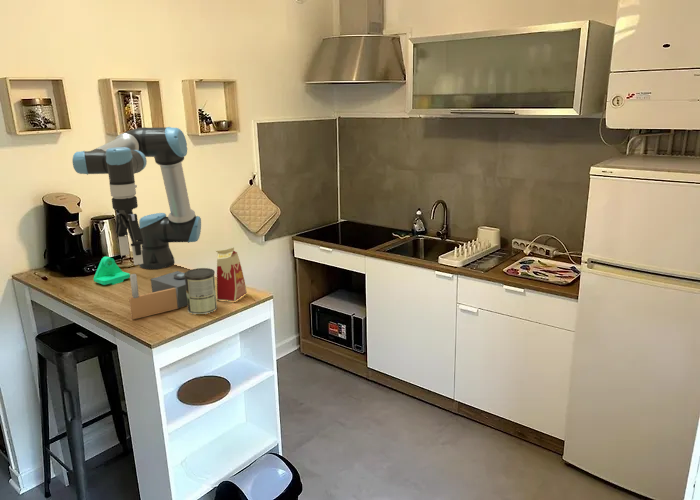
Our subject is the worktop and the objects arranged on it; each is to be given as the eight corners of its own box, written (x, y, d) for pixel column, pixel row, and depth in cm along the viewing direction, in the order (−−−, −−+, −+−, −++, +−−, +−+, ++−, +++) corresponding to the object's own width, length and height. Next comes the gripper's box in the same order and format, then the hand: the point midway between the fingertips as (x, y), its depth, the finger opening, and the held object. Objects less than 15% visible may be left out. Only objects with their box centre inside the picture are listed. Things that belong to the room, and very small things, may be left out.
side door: (131, 318, 184) (126, 275, 179) (178, 306, 194) (174, 265, 189) (133, 320, 182) (127, 276, 178) (180, 308, 192) (176, 267, 188)
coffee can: (181, 310, 191) (178, 273, 188) (205, 302, 199) (202, 266, 195) (199, 317, 185) (195, 278, 181) (223, 308, 193) (220, 271, 189)
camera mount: (104, 287, 216) (101, 263, 213) (94, 283, 220) (91, 259, 218) (131, 279, 225) (128, 256, 222) (121, 276, 230) (118, 253, 227)
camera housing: (179, 290, 212) (177, 268, 209) (206, 298, 203) (204, 275, 200) (152, 299, 203) (150, 276, 200) (179, 308, 194) (177, 284, 191)
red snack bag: (247, 294, 207) (244, 244, 201) (236, 303, 198) (232, 251, 193) (225, 292, 209) (222, 243, 204) (213, 300, 201) (209, 249, 195)
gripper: (149, 200, 166) (156, 265, 172) (123, 190, 184) (131, 249, 190) (124, 203, 161) (132, 270, 167) (100, 192, 180) (108, 253, 186)
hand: (131, 259), depth 179 cm, fingers open, 13 cm apart
